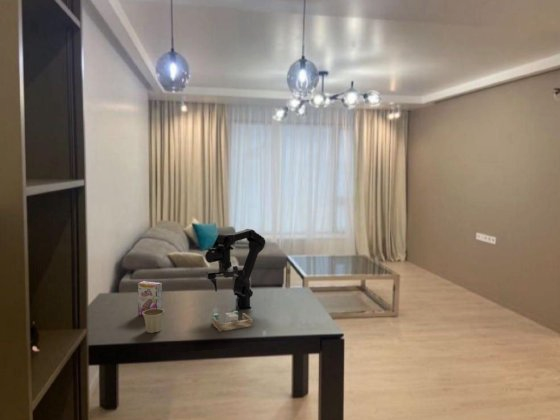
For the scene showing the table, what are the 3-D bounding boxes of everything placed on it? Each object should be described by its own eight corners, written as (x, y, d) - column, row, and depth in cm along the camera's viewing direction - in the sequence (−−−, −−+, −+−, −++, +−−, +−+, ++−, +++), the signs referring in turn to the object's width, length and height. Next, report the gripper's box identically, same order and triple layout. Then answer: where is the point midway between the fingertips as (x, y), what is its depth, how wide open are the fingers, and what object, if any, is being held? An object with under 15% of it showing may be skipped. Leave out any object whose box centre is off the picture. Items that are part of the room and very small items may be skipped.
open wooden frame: (244, 318, 208) (244, 312, 208) (252, 325, 198) (252, 319, 198) (212, 323, 201) (212, 317, 201) (219, 331, 192) (218, 324, 191)
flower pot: (145, 327, 197) (144, 308, 196) (166, 326, 198) (166, 308, 197) (140, 334, 188) (140, 315, 187) (162, 334, 188) (162, 314, 188)
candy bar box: (137, 315, 213) (136, 283, 211) (144, 312, 217) (143, 280, 216) (157, 318, 209) (156, 285, 208) (163, 315, 214) (162, 282, 212)
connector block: (233, 322, 204) (233, 311, 203) (239, 327, 197) (239, 316, 197) (225, 323, 202) (225, 313, 201) (230, 328, 195) (230, 317, 195)
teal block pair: (236, 316, 212) (236, 310, 211) (238, 317, 210) (238, 311, 210) (213, 320, 206) (213, 313, 206) (214, 321, 205) (214, 315, 204)
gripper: (211, 264, 202) (211, 297, 203) (248, 260, 210) (248, 292, 211) (204, 260, 212) (204, 291, 213) (240, 256, 220) (240, 286, 221)
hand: (224, 290), depth 214 cm, fingers open, 9 cm apart
